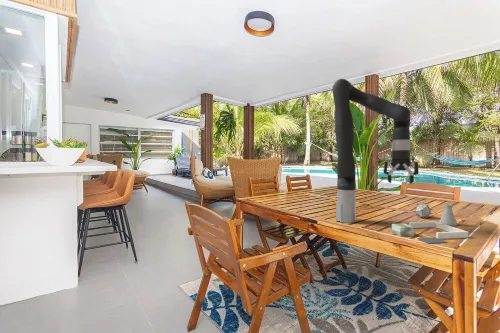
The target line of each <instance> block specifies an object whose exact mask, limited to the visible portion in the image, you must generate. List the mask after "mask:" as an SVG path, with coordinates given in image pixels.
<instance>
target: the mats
mask: <svg viewBox="0 0 500 333" xmlns="http://www.w3.org/2000/svg"><path fill="white" fill-rule="evenodd" d="M387 227H390V228H392V224H387ZM416 239H417V240H419V241H422V242H424V243H425V244H427V245H429V244H432V245H434V244H447V243H448V241H445V240H444V239H438V238H436V236H433V237H432V236H431V237H417V238H416Z"/></svg>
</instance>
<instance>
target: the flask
mask: <svg viewBox="0 0 500 333" xmlns="http://www.w3.org/2000/svg"><path fill="white" fill-rule="evenodd" d="M443 205H444V209H443V213H442V215H441V217H440V219H439V221H438V222H439V223H442V224H445V225H449V226H452V227H455V226H459V224H458V222H457V220H456V217H455V215H454V213H453V204H450V203H445V204H443Z"/></svg>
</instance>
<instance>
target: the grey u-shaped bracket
mask: <svg viewBox="0 0 500 333" xmlns="http://www.w3.org/2000/svg"><path fill="white" fill-rule="evenodd" d="M408 223H409V224H408V225H409V226H412V227H414V229H417V228H419V229H421V228H422V229H423V228H438V229H440V230H442V231H441V232H439V231H438V232H437V231H436V232H435V237H436V238H438V239H441V240H449V239H468V238H469V231H467V230H464V229H461V228H458V227H455V226H449V225H445V224H442V223H439V221H432V220H431V221H413V222H412V221H411V222H410V221H409V222H408Z"/></svg>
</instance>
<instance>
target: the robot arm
mask: <svg viewBox="0 0 500 333" xmlns="http://www.w3.org/2000/svg"><path fill="white" fill-rule="evenodd" d="M332 96H333V102H334V130H335V131H334V132H335V140H336V146H337V147H336V148H337V165H336V171H337V174H336V177H337V180H336V181H337V182H336V183H337V184H336V187H337V196H336V198H337V200H336V203H335V220H336V221H338V222H339V221H340V223H348V224H350V223H356V222H357V221H356V220H357V219H356V217H357V216H356V213H357V211H356V210H357V208H356V204H357V202H356V197H357V196H356V192H357V191H356V190H357V189H356V165H355V158H354V151H353V150H354V136H355V128H354V127H355V126H354V124H355V123H354V119H353V115H352V111H351V106H350V102H353V103H355V104H358V105H361V106H363V107H364V108H366V109H368V110H370V111H373V112H374V113H376V114H379V115H383V116H385V117H387V118H390V119H392V120H393V131H392V143H391V161H384V162H383V174H385V175H387V182H388V183H389V184H391V183H392V174H393V173H394V172H395V171H402V172H407V173H408V175H409V176H408V183H409V184H413V183H414V177H415V176H416V175H417V176H418V175H419V162H418V161H411V140H410V139H411V132H410V130H411V128H410V127H411V126H410V125H411V111H410V109H409V108H408V107H406V106H404V105H402V104H401V105H400V104H399V103H395V102H391V101H389V100H387V99H386V98H383V97H380V96H377V95H374V94H371V93H368V92H365V91H362V90H360V89H358V88H357V87H356V86H354V85H352V83H351V82H350V81H348V79H346V78H345V79H344V78H339V79H337V80H336V81H335V82H334V83H333V86H332ZM389 166H391V169H390V170H389V171H388V167H389ZM410 166H412V167H413V171H412V169H411V168H410Z"/></svg>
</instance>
